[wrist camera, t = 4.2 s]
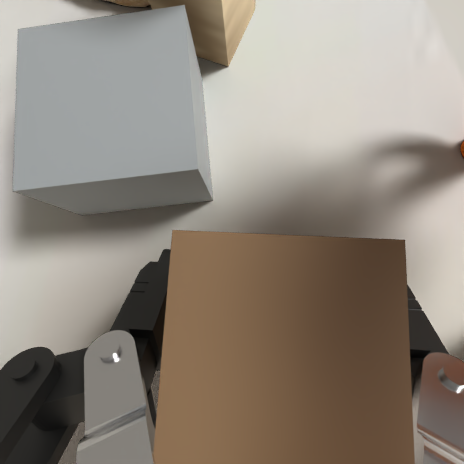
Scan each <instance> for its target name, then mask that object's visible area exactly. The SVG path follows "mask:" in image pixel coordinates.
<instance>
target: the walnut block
mask: <svg viewBox="0 0 464 464" xmlns="http://www.w3.org/2000/svg"><path fill="white" fill-rule="evenodd" d="M153 455H154V459H155V463H156V464H415V455H414V433H413V410H412V387H411V365H410V342H409V319H408V297H407V274H406V252H405V240H396V239H372V238H348V237H324V236H300V235H277V234H253V233H229V232H205V231H181V230H172V242H171V253H170V265H169V277H168V288H167V300H166V311H165V323H164V335H163V346H162V358H161V370H160V381H159V393H158V405H157V416H156V428H155V439H154V451H153Z"/></svg>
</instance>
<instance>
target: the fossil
mask: <svg viewBox="0 0 464 464" xmlns="http://www.w3.org/2000/svg"><path fill="white" fill-rule="evenodd" d="M104 1H110V2H113V3H116V4H119V5H124V6H133V7H146V6H148V5H150V3H149V0H104Z"/></svg>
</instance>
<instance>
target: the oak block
mask: <svg viewBox="0 0 464 464" xmlns="http://www.w3.org/2000/svg"><path fill="white" fill-rule="evenodd" d="M149 3H150V5H151V8H152V10H153V9H160V8H166V7H173V6H180V5H185V9H186V13H187V18H188V22H189V26H190V30H191V34H192V39H193V43H194V47H195V51H196V56H198V57H201V58H204V59H207V60H210V61H213V62H216V63H219V64H222V65H225V66H229V64H230V62H231V60H232V58H233V56H234V53H235V51H236V49H237V47H238V45H239V43H240V41H241V38H242V36H243V34H244V32H245V30H246V28H247V25H248V23H249V21H250V19H251V17H252V15H253V13H254V10H255V0H149Z"/></svg>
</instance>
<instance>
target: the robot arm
mask: <svg viewBox="0 0 464 464" xmlns="http://www.w3.org/2000/svg"><path fill="white" fill-rule="evenodd" d="M170 253H171V249H164V250H163V252H162V254H161V256H160V258H159V261H158V262H149V263H148V264H147V265H146V266H145V267H144V268H143V269H142V270H140V272H139V274H138V276H137V278H136V280H135V284H133V286H132V288H131V290H130V293H129V294H128V296H127V298H126V300H125V302H124V304H123V306H122V308H121V310H120V312H119V314H118V316H117V318H116V320H115V322H114V324H113V326H112V328H111V329H110V331H109V332H107V333H105V334H103V335H101V336H100V337H98V338H97V339H96V340H95V341H93V342H92V344H91V345H90V346H89V347H88V348H85V349H82V350H77V351H73V352H69V353H65V354H60V355H56V356H55V355H54V354H53V352H52V351H51V350H50V349H48V348H45V347H35V348H31V349H28V350H25V351H23V352H21V353H19V354H18V355H16V356H15V357H13V358H12V359H11V360H10V361H8V362H7V363H6V364H5V365H4V367H3V368H2V369H1V370H0V464H58V462H59V460H60V458H61V456H62V454H63V452H64V451H65V449H66V447H67V445H68V443H69V441H70V439H71V437H72V435H73V434H74V432H75V430H76V428H77V426H78V424H79V422H83V421H85V434H84V437H83V439H81V440H80V441H79V444H78V447H77V454H76V464H156V463H155V459H154V455H153V451H154V439H155V428H156V416H157V407H156V403H155V398H154V393H153V388H152V380H153V377H154V374H155V371H156V370H161V358H162V346H163V335H164V323H165V311H166V300H167V288H168V277H169V265H170ZM407 297H408V319H409V342H410V365H411V387H412V410H413V433H414V455H415V464H464V362H463V361H461V360H460V359H458V358H456V357H454V356H451V355H449V353H448V352H447V350H446V349H445V347H444V345H443V344H442V342H441V340H440V338H439V337H438V335H437V333H436V332H435V330H434V328H433V327H432V325H431V323H430V322H429V320H428V318H427V316H426V315H425V313H424V311H422V310H421V309H422V308H421V306H420V305H419V303H418V301H416V300H415V296H414V295H413V293H412V291H411V289H410V288H409V286H408V285H407Z"/></svg>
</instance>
